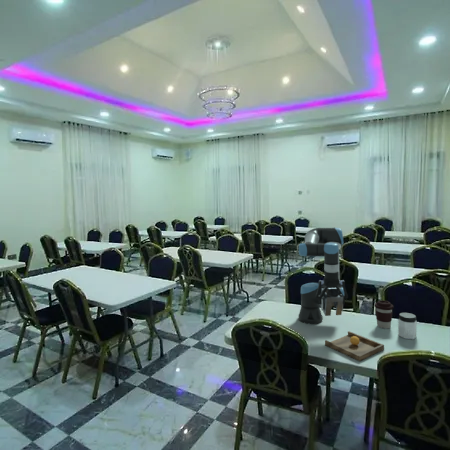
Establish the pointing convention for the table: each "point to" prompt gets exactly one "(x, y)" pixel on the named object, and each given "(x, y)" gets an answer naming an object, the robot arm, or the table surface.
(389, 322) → the coffee cup
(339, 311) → the grey piece
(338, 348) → the tray
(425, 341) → the table surface
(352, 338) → the ball
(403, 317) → the jar
